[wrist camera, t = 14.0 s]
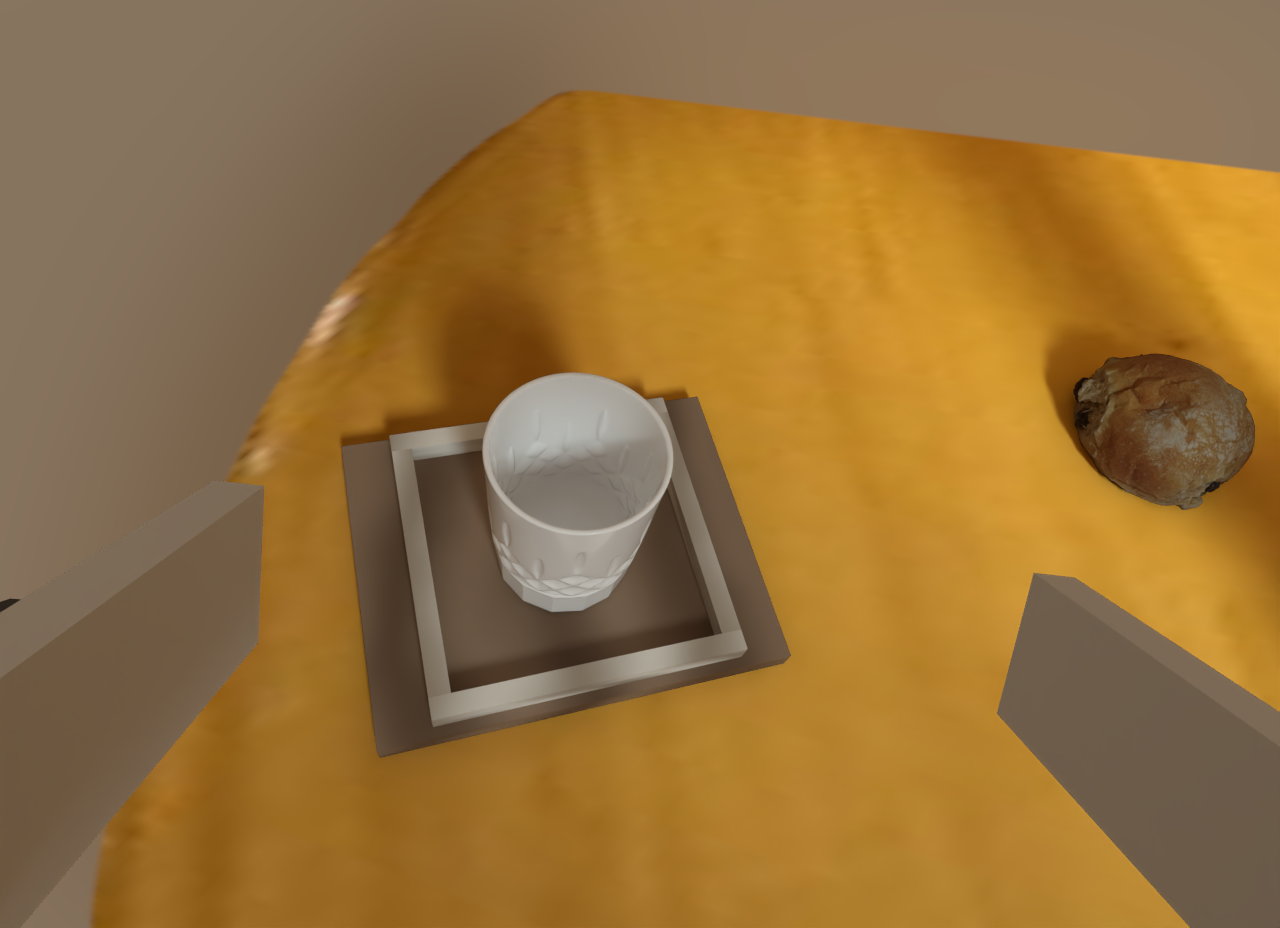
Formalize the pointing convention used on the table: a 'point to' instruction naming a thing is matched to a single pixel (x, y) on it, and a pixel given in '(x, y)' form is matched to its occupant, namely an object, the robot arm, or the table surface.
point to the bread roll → (1163, 427)
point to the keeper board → (521, 632)
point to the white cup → (572, 486)
